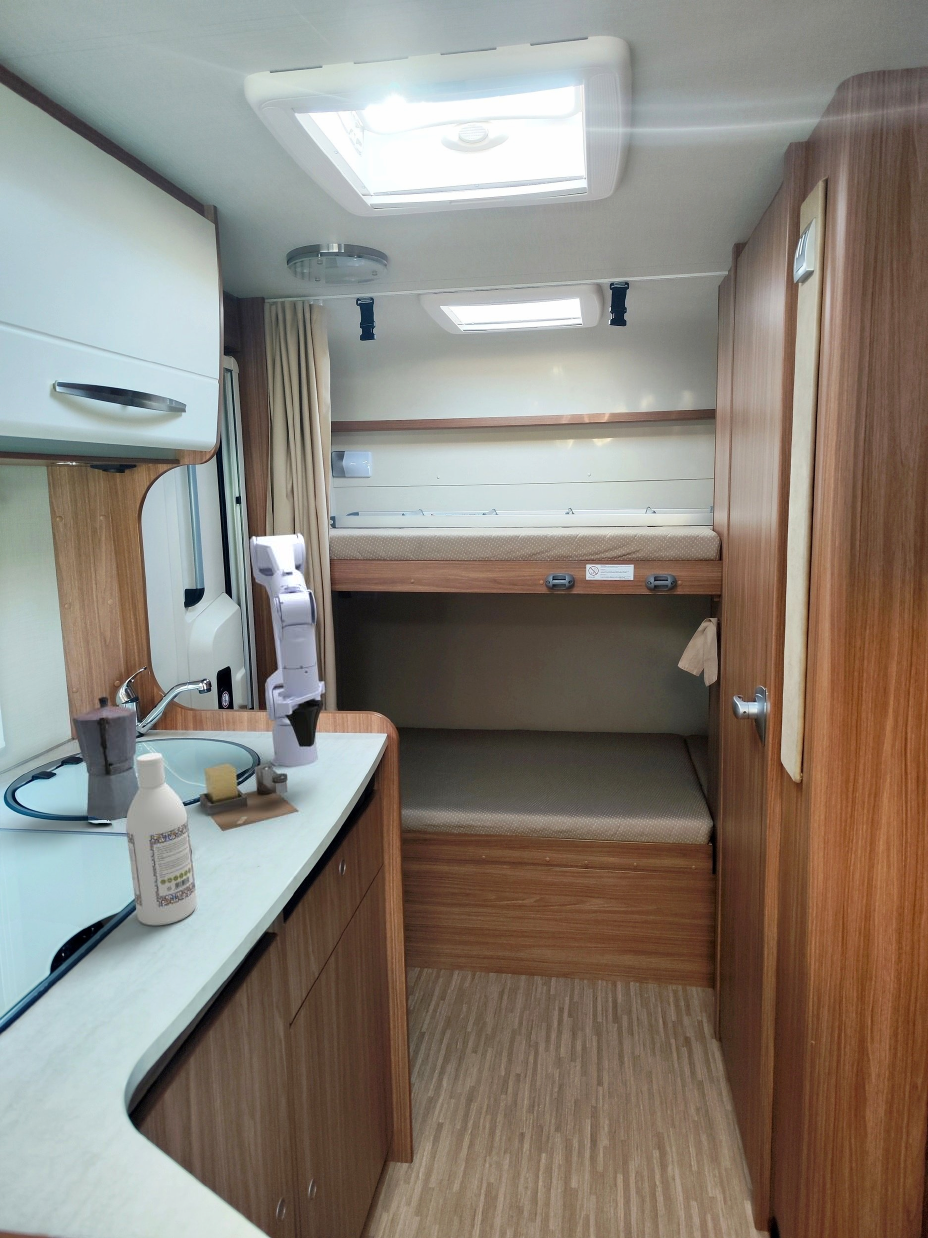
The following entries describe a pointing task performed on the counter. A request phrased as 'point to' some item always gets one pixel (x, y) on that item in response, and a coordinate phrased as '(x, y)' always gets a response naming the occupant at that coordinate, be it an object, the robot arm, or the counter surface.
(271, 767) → the crank
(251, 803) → the base
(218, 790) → the block
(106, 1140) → the counter surface
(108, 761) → the moka pot
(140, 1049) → the counter surface
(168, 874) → the bath foam
